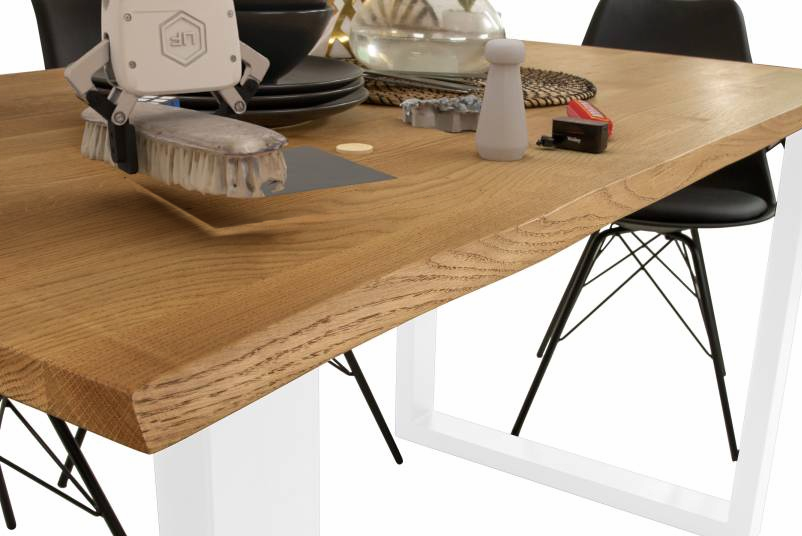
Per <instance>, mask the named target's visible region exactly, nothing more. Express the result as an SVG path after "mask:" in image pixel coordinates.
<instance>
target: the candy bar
mask: <svg viewBox="0 0 802 536" xmlns="http://www.w3.org/2000/svg"><path fill="white" fill-rule="evenodd" d="M566 115H567V117H572V118H580V119H587V120H595V121H603V122H609V133H608V139H609V138H610V136H612V133H613V127H614V125H613V122H612V120H611V119H610V118H609V117H608V116H607V115H606V114H605V113H603V112H602V111H601V109H599V108H597V107H596V106H595V105H594V104H592V103H590V102H588V101H586V100H582V99H574V98H573V99H571V100H569V103H568V105H567V106H566Z"/></svg>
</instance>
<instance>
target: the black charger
mask: <svg viewBox="0 0 802 536" xmlns="http://www.w3.org/2000/svg"><path fill="white" fill-rule="evenodd" d="M551 123H552V124H551V136H550V135H547V134H543V135H540V138H539V139H537V141H536V142H535V145H536V146H538V147H542V148H552V147H554V148H560V149H565V150H573V151H579V152H585V153H593V154H598V153H601V152H605V151H606V150H607V149H608V145H609V138H608V133H609V122H603V121H595V120H587V119H580V118H572V117H568V116H558V117H555V118H552V122H551Z"/></svg>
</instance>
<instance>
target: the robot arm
mask: <svg viewBox="0 0 802 536" xmlns="http://www.w3.org/2000/svg"><path fill="white" fill-rule="evenodd" d="M100 12H101V14H100V15H101V19H100V21H101V24H100V25H101V41H100V42H99V43H97V44H96V45H95V46H94V47H92V48H91V49H90V50H89V51H87V52H86V53H85V54H84V55H82V56H80V58H78V59H77V60H76V61H74V63H72V64H71V65H69V66H68V67H67V68H66V69H65V70H64V72H63V76H64V79H65V80H66V81H67V83H69V84H70V86H71V87H72V88H73V90H75V92H76V93H77V94H78V95H79V97H81V99H82V101H83V102H84V103H85V104H86V105H88V106H89V107H91V108H92V109H94V110H95V111H96V112H97V113H99V114H100V115H101V116H102V117H103V118H104V119H105V120H107V122H108V132H109V142H110V152H111V158H112V161H113V162H114V163H117V165H118V168H117V169H119V170H120V171H122V172H124V173H126V174H127V175H130V176H131V175H137V174H138V173H137V172H139V166H138V155H137V144H136V133H135V127H134V125H132V124H130V123H129V116H130V114H131V112H132V110H133V108H134V106H135V104H136V102H137V101H138V99H139V97H140V96H166V95H167V96H168V95H178V94H191V93H202V92H203V93H204V92H209V93H210V94H211V96H212V97H213V98H214V99H215V101H216V102H217V103H218V109H215V111H214V113H213V115H217V116H222V117H227V118H232V119H236V120H239V121H242V116H241V115H242V114H245V112H246V110H247V105H248V103H249V102H250V101H251V100H252V99H253V97H254V96H255V95H256V94H257V93H258V91H259V88H260V83H261V82H262V81H263V79H264V77H265V76H266V73H267V71H268V70H269V68H270V65H271V62H270V60H269V59H268V58H267V57H265V56H264V55H262V54H261V53H259V51H256V50H255V49H253V48H252V47H251V46H249V45H248V44H246V43H244V42H243V41H241V40H240V36H239V29H238V22H237V15H236V10H235V3H234V0H101V11H100ZM242 63H243V64H244V66H245V69H244V72H243V75H242V70H243V69H242ZM102 68H103V72H104V76H105V80H106V82H107V83H108V84H109V85H110V86H112V88H111V90H110V92H109V94H108V96H105V95H104V94H103V93H102V92H100V90H99V89H98V88H97V87H96V85H95V84H94V83H93V81H92V77H93V75H94V74H95V73H97V72H98V71H99V70H101V69H102Z"/></svg>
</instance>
